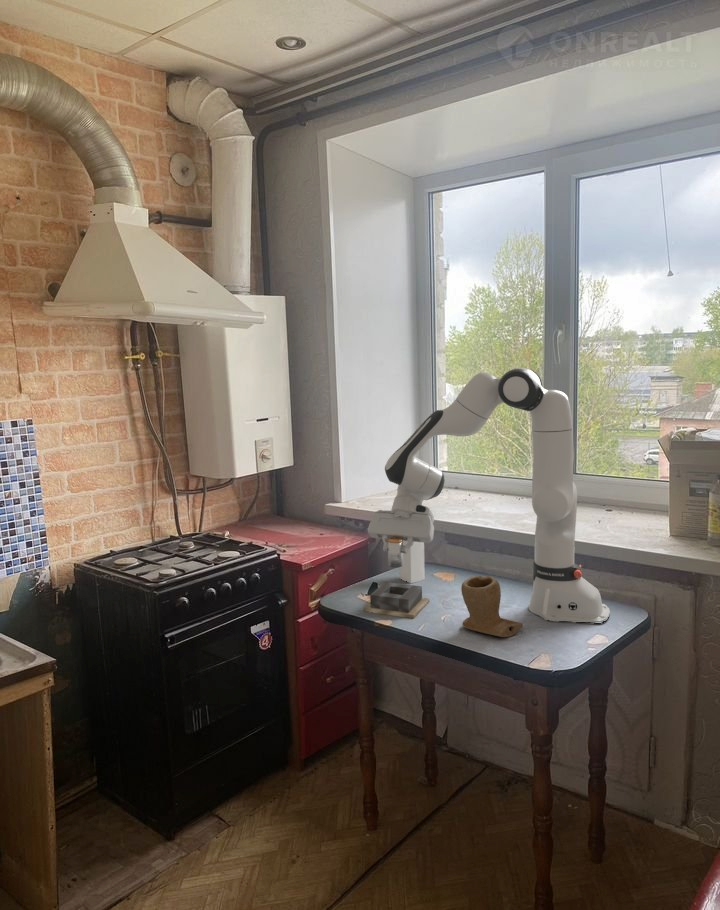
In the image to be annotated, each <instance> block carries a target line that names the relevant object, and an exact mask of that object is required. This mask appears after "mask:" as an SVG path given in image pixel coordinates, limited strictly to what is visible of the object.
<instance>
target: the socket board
mask: <svg viewBox="0 0 720 910" xmlns="http://www.w3.org/2000/svg"><path fill="white" fill-rule="evenodd" d="M369 599H370V600H369V602H368V603H367V604H366V605H365V606H364V607H362V612H364V611H369V612H368V613H371V612H373V614H380V615H388V616H394V617H401V618H409V619H415V618H416V617H417V616H418V615H419V614H420V612H422V611H423V609H424V608H426V606H428V605H429V603H430V598H428V597H423V586H421V585H413V584H405V583H396V582H395V583H394V582H387V581H386V582H384V583H382V584H381V585H380V586H379V587H378V588H376V589H375V590H374V591H373V592H372V593H370V596H369Z"/></svg>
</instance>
